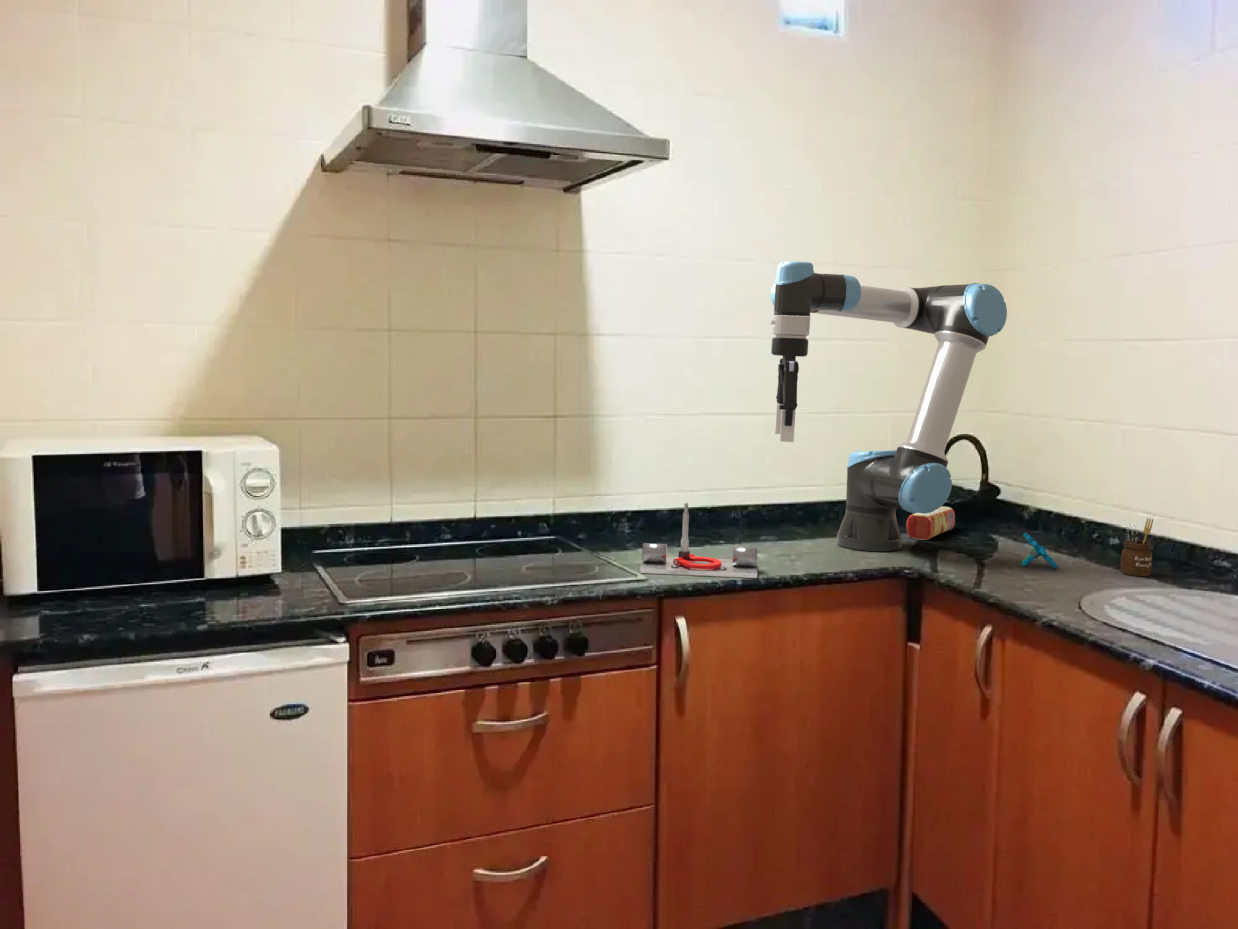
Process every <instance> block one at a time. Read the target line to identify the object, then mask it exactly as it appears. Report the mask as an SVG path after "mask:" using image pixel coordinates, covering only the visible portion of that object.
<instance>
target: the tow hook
mask: <svg viewBox="0 0 1238 929" xmlns="http://www.w3.org/2000/svg"><path fill="white" fill-rule="evenodd" d="M683 508H684V509H683V510H684V511H683V513H682V533H681V534H682V536H681V539H680V550H679V551H678V557H679V558H676V559H674V560H673V564H674V565H679V564H680V565H683V566H686V567H689V568H695V569H715V568H719V567H721V564H722V563H721V561H720V560H718V559H719V558H714V557H707V556H696V555H694V554H693V553H691V551H690V550H689V545H690V544H689V543H690V540H689V520H690V519H689V518H690V516H689V515H690V513H689V503H688V502H684V506H683ZM689 561H693V562H698V561H700V562H709V563H712V564H696V563H691V562H689Z"/></svg>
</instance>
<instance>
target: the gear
mask: <svg viewBox="0 0 1238 929" xmlns="http://www.w3.org/2000/svg"><path fill="white" fill-rule="evenodd" d="M1022 537H1024V539H1025V540H1026V541H1027V542H1028V543H1029V545H1030V546H1032V547H1031V548H1030V549H1031V550H1030V551H1028V553H1029V554H1028V555H1027V556H1026V557H1025V558H1023V560H1022V562H1021V565H1022V566H1023V567H1026V566H1027V565H1029V564H1030V563H1031V562H1032V561H1033V560H1035V559H1036V560H1037V559H1038V558H1039V557H1040V556H1041V557H1042V558H1043V560H1045V561H1046V562H1047V563H1048V564H1049V566H1051V567H1053V568H1054V570H1056V569H1057V568H1058V567H1059V565H1058V564H1057V563H1056V562H1055V561H1054V558H1052V557H1051V556H1050V555H1048V553H1047V552H1046V550H1047V549H1046V548H1045V547H1044V546H1043V545H1039V544H1038V542H1037V541H1035V539H1033V537H1032V536H1031V535H1030V534H1028V533H1027V532H1024V533H1023V534H1022Z"/></svg>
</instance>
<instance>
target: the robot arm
mask: <svg viewBox="0 0 1238 929" xmlns="http://www.w3.org/2000/svg"><path fill="white" fill-rule="evenodd" d="M776 268H777V269H776V273H775V280H774V284H773V285H772V287H771V291H770V292H771V293H770V298H771V300H770V301H771V302H772V305H773V306H774V308H773V315H774V316H773V319H771V320H770V322H769V323H770V325H773V326H772V334H773V335H775V337H772V339H771V348H770V349H771V352H770V353H771V355H773V356H782V358H780V359H779V363H778V365H777V366H778V367H777V372H778V375H777V378H778V379H777V380H778V382H777V390H776V391H777V392H776V396H775V398H776V408H775V409H776V411H775V412H776V414H775V425H774V426H775V427H774V429H775V430H774V434H775V435H780V436H779V442H780V443H781V442H782V443H783V442H785V443H794V440H795V426H796V425H795V424H796V409H797V407H798V379H799V378H798V377H799V376H798V375H799V370H800V366H799V362H798V361H796V360H797V359H796V358H797V357H804V358H805V357H807V356H808V352H809V340H808V338H807V337H808V336H809V335H810V326H811V314H818V315H826V316H837V317H842V318H843V317H844V318H851V319H852V318H853V319H861V320H871V321H877V322H878V321H879V322H884V323H887V322H888V323H893V325H894V326H896V327H897V328H902V329H908V330H913V331H918V332H923V333H927V334H932V335H934V337H935V338H936V341H937V348H936V351H935V354H934V357H933V360H932V363H931V366H930V370H929V372H928V375H927V377H926V381H925V384H924V387H923V389H922V394H921V396H920V399H919V402H918V405H917V408H916V412H915V415H914V417H913V421H912V424H911V427H910V430H909V434H908V436H907V440H906V441H905V442H903V443H901V444H900V445H898V446H897V448H896V449H895V450H893V449H891V450H890V449H889V450H888V449H887V450H869V451H867V450H865V451H863V450H862V451H853V452H851V454H849V456H848V462H847V468H846V470H847V471H846V473H847V474H846V496H845V497H846V500H845V502H846V503H845V504H846V505H845V514H844V516H843V518H842V521H841V524H840V527H839V529H838V532H837V534H836V544H837V545H838V546H840V547H843V548H845V549H846V548H847V549H851V550H852V549H853V550H858V551H865V552H866V551H867V552H891V551H897V550H901V548H902V543H903V542H902V541H903V540H902V535H901V532H900V527H899V523H898V520H897V516H896V511H897V509H899V510H902V511H906V512H909V513H912V514H915V513H931V512H933V511H935V510H936V509H938V508H940V507H941V506H942V507H943V506H944V504H945V503H946V502H947V500H948V498H949V497H950V494H951V492H952V486H953V480H952V479H951V477H952V475H951V472H950V471H949V469H948V468H947V467H948V464H949V460H948V458H947V456H946V454H945V451H946V447H947V444H948V442H949V439H950V436H951V432H952V429H953V425H954V424H955V420H956V416H957V414H958V410H959V408H960V405H961V403H962V402H961V401H962V399H963V396H964V392H965V389H966V386H967V383H968V380H969V377H970V375H971V372H972V367H973V365H974V361H975V358H976V355H977V354H978V353H979V352H982V351H983V350H985V349H986V348H987V344H988V341H989V338H990V337H993V336H995V335H997V334H998V333H999V332H1001V331H1002V330H1003V328H1004V327H1005V324H1006V321H1007V316H1008V309H1007V304H1006V302H1005V298H1004V296H1003V294H1002V293H1001V291H1000V290H999V289H998V288H997V287H995V286H994V285H992V284H988V283H979V282H973V283H972V282H971V283H969V284H968V283H965V284H951V285H950V284H948V285H947V284H944V285H935V286H928V287H927V286H926V287H909V286H905V287H901V288H900V289H889V288H883V287H873V286H866V285H861V283H860V282H859V280H858V278H856V277H855V276H853V275H847V274H844V273H841V274H836V273H834V274H833V273H817V272H815V271H814V264H813V263H812V262H809V261H792V260H791V261H790V260H789V261H781V262H779V264H778V265H777V267H776Z"/></svg>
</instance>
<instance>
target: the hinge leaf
mask: <svg viewBox="0 0 1238 929" xmlns="http://www.w3.org/2000/svg"><path fill="white" fill-rule="evenodd" d="M641 550H642V553H641V555H642V556H641V560H642V563H641V566H640V568H639V571H640V572H639V573H640V574H650V575H651V574H653V575H655V574H656V575H658V574H659V575H677V576H696V577H697V576H701V577H723V578H724V577H725V578H742V579H743V578H746V579H747V578H749V579H757V578H758V570H757V565H758V561H757V560H758V547H745V546H733V547H732V558H717V559H718V560H720V561H721V563H722V564H721V567H719V568H715V569H695V568H689V567H686V566H683V565H680V564H679V565H674V564H673V560H674V559H676V558H679V556H669V555H668V544H667V543H650V542H649V543H648V542H643V544H642V549H641ZM689 562H691V563H696V564H712V563H709V562H700V561H698V562H693V561H689Z"/></svg>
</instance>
